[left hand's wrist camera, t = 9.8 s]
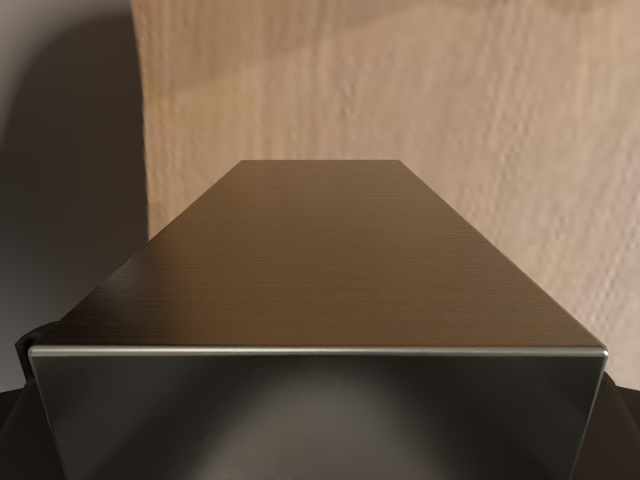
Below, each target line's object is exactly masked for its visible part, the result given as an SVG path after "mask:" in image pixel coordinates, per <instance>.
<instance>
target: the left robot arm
mask: <svg viewBox="0 0 640 480" xmlns="http://www.w3.org/2000/svg"><path fill="white" fill-rule="evenodd" d="M57 322H58V321H56V322H51V323H48V324H46V325H43V326H41V327H38V328H36V329H34V330H32V331H30V332H29V333H27V334H25V335H24V336H22V337H21V338H20V339H19V340H18V341H17V342H16V343H15V347H16V350H17V353H18V357H19V360H20V363H21V366H22V369H23V372H24V375H25V378H26V384H25V386H24V388H21V389H16V390H11V391H6V392H2V393H0V480H66V478H65V475H64V471H63V468H62V465H61V462H60V458H59V455H58V452H57V449H56V445H55V442H54V439H53V436H52V432H51V429H50V426H49V423H48V419H47V416H46V413H45V410H44V406H43V403H42V400H41V397H40V393H39V390H38V387H37V383H36V380H35V377H34V374H33V370H32V367H31V364H30V361H29V357H28V350H29V348H30V346H31V345H32V344H33V343H35V342H36V341H37V340H38V339H39V338H40V337H41V336H42V335H44V334H45V333H46V332H47V331H48V330H49V329H50V328H52V327H53V326H54V325H55V324H56V323H57ZM571 480H640V391H638V390H633V389H628V388H623V387H619V386H616V385H615V383H614V381H613V380H612V379H611V377H610V376H609V375H608V374H607V373H606V372H605V371H604V373H603V376H602V379H601V383H600V386H599V389H598V393H597V396H596V399H595V403H594V406H593V409H592V413H591V416H590V419H589V423H588V426H587V429H586V433H585V436H584V439H583V443H582V446H581V449H580V453H579V456H578V459H577V463H576V466H575V469H574V473H573V476H572V479H571Z"/></svg>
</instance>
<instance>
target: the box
mask: <svg viewBox="0 0 640 480" xmlns="http://www.w3.org/2000/svg"><path fill="white" fill-rule="evenodd" d="M608 356H609V355H608V350H607V348H606V346H605V345H604V344H603V343H602V342H600V341H599V340H598V339H597V338H596V337H595V336H594V335H593V334H592V333H591V332H589V331H588V330H587V329H586V328H585V327H584V326H583V325H582V324H581V323H579V322H578V321H577V320H576V319H575V318H574V317H573V316H572V315H571V314H569V313H568V312H567V311H566V310H565V309H564V308H563V307H562V306H561V305H559V304H558V303H557V302H556V301H555V300H554V299H553V298H552V297H551V296H549V295H548V294H547V293H546V292H545V291H544V290H543V289H542V288H541V287H539V286H538V285H537V284H536V283H535V282H534V281H533V280H532V279H531V278H529V277H528V276H527V275H526V274H525V273H524V272H523V271H522V270H521V269H519V268H518V267H517V266H516V265H515V264H514V263H513V262H512V261H511V260H510V259H508V258H507V257H506V256H505V255H504V254H503V253H502V252H501V251H500V250H498V249H497V248H496V247H495V246H494V245H493V244H492V243H491V242H490V241H488V240H487V239H486V238H485V237H484V236H483V235H482V234H481V233H480V232H478V231H477V230H476V229H475V228H474V227H473V226H472V225H471V224H470V223H468V222H467V221H466V220H465V219H464V218H463V217H462V216H461V215H460V214H458V213H457V212H456V211H455V210H454V209H453V208H452V207H451V206H450V205H448V204H447V203H446V202H445V201H444V200H443V199H442V198H441V197H440V196H439V195H437V194H436V193H435V192H434V191H433V190H432V189H431V188H430V187H429V186H427V185H426V184H425V183H424V182H423V181H422V180H421V179H420V178H419V177H417V176H416V175H415V174H414V173H413V172H412V171H411V170H410V169H409V168H407V167H406V166H405V165H404V164H403V163H402V162H401V161H399V160H241V161H240V162H239V163H238V164H237V165H235V166H234V167H233V168H232V169H231V170H230V171H229V172H227V173H226V174H225V175H224V176H223V177H222V178H221V179H220V180H218V181H217V182H216V183H215V184H214V185H213V186H212V187H210V188H209V189H208V190H207V191H206V192H205V193H204V194H202V195H201V196H200V197H199V198H198V199H197V200H196V201H195V202H193V203H192V204H191V205H190V206H189V207H188V208H187V209H185V210H184V211H183V212H182V213H181V214H180V215H179V216H178V217H176V218H175V219H174V220H173V221H172V222H171V223H170V224H168V225H167V226H166V227H165V228H164V229H163V230H162V231H161V232H159V233H158V234H157V235H156V236H155V237H154V238H153V239H151V240H150V241H149V242H148V243H147V244H146V245H145V246H143V247H142V248H141V249H140V250H139V251H138V252H137V253H136V254H134V255H133V256H132V257H131V258H130V259H129V260H128V261H126V262H125V263H124V264H123V265H122V266H121V267H120V268H119V269H117V270H116V271H115V272H114V273H113V274H112V275H111V276H109V277H108V278H107V279H106V280H105V281H104V282H103V283H101V284H100V285H99V286H98V287H97V288H96V289H95V290H94V291H92V292H91V293H90V294H89V295H88V296H87V297H86V298H84V299H83V300H82V301H81V302H80V303H79V304H78V305H77V306H75V307H74V308H73V309H72V310H71V311H70V312H69V313H67V314H66V315H65V316H64V317H63V318H62V319H61V320H59V321H58V322H57V323H56V324H55V325H54V326H53V327H52V328H50V329H49V330H48V331H47V332H46V333H45V334H44V335H42V336H41V337H40V338H39V339H38V340H37V341H36V342H35V343H33V344H32V345H31V346H30V348H29V350H28V357H29V361H30V364H31V367H32V370H33V374H34V377H35V380H36V383H37V387H38V390H39V393H40V397H41V400H42V403H43V406H44V410H45V413H46V416H47V419H48V423H49V426H50V429H51V432H52V436H53V439H54V442H55V445H56V449H57V452H58V455H59V458H60V462H61V465H62V468H63V471H64V475H65V478H66V480H571V479H572V476H573V473H574V469H575V466H576V463H577V459H578V456H579V453H580V449H581V446H582V443H583V439H584V436H585V433H586V429H587V426H588V423H589V419H590V416H591V413H592V409H593V406H594V403H595V399H596V396H597V393H598V389H599V386H600V383H601V379H602V376H603V373H604V369H605V366H606V363H607V359H608Z"/></svg>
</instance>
